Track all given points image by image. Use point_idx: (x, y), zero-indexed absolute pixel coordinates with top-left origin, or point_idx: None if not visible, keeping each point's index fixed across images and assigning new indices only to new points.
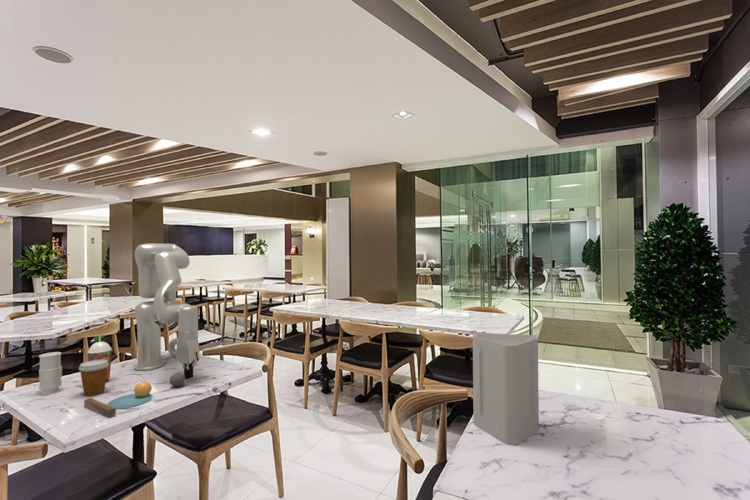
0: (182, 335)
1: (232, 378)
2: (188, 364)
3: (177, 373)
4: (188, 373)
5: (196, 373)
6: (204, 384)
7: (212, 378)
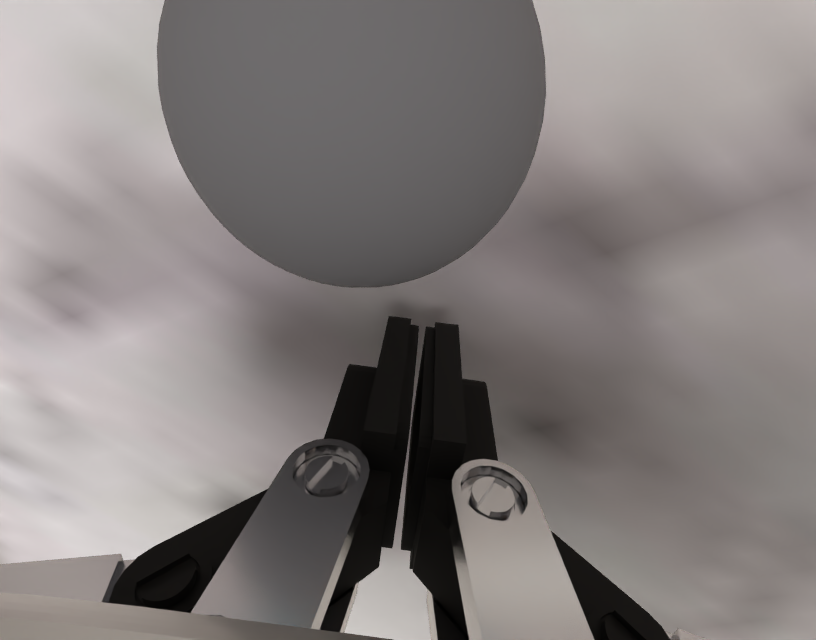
0: None
1: (57, 543)
2: (195, 600)
3: (271, 83)
4: (350, 400)
5: None
6: (105, 334)
7: (239, 496)
